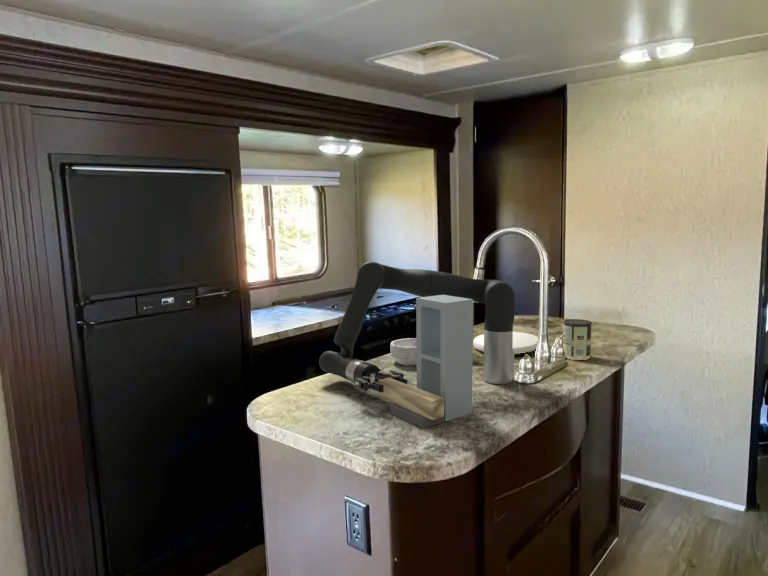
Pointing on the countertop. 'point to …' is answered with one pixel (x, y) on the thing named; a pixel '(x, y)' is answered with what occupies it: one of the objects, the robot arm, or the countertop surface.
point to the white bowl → (404, 351)
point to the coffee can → (577, 337)
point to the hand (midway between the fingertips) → (394, 386)
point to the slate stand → (446, 351)
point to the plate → (520, 342)
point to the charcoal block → (413, 416)
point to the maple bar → (412, 398)
